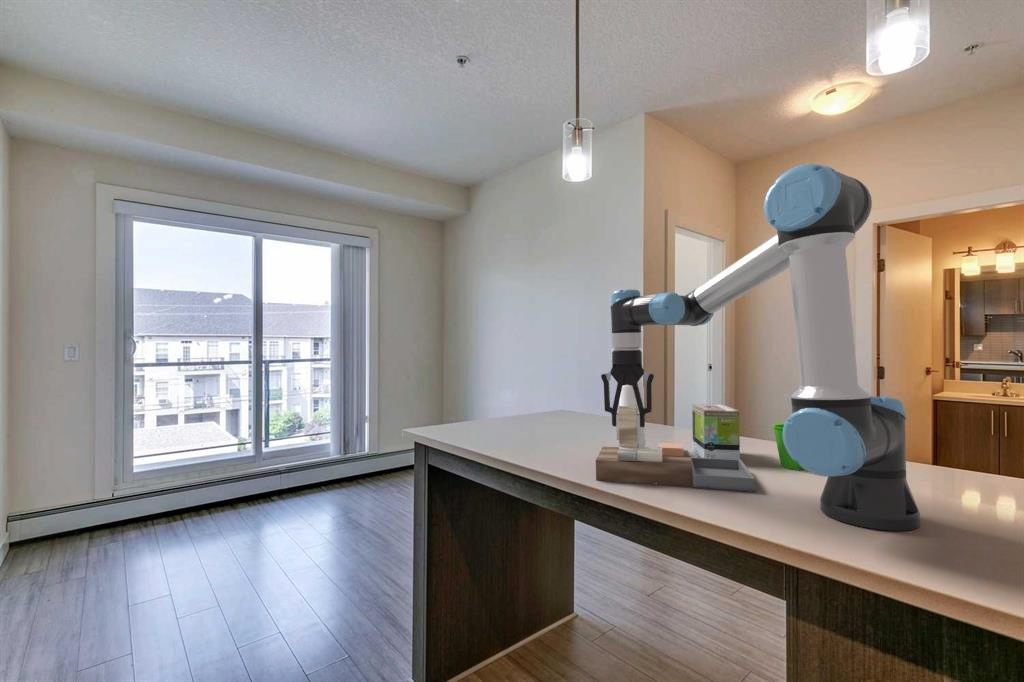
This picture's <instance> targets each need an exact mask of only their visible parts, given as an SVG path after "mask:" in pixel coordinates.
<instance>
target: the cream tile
mask: <svg viewBox="0 0 1024 682" xmlns="http://www.w3.org/2000/svg"><path fill="white" fill-rule="evenodd" d="M637 461H652V462H662V448H659V447H658V448H656V447H645V448H640V447H637Z"/></svg>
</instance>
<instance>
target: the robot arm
mask: <svg viewBox="0 0 1024 682" xmlns="http://www.w3.org/2000/svg"><path fill="white" fill-rule="evenodd" d="M872 203H873V201H872V196H871V193H870V191H869V189H868V186H866V185H865V184H864V183H863V182H862V181H860V180H858V179H856V178H854V177H852V176H849V175H846V174H844V173H842V172H839V171H837V170H836V169H834V168H832V167H831V166H828V165H821V164H815V163H806V164H800V165H798V166H794V167H792V168H789V169H788V170H786V171H785V172H783V173H782V174H781V175H780V176H778V177H777V178H776V179H775V181H774V183H773V184H772V185H771V186H770V187H769V189H768V190H767V192H766V195H765V198H764V202H763V213H764V216H765V218H766V220H767V222H768V223H769V225H771V227H773V228H774V230H775V229H776V234H774V235H772V237H770V238H768V239H767V240H766V241H764V242H763V243H761V244H760V245H758V246H757V247H755V248H754V249H752V250H751V251H749V252H748V253H746V254H745V255H744V256H743V257H741V258H739V259H738V260H736V261H735V262H733V263H731V264H730V265H729V266H727V267H726V268H724V269H723V270H721V271H720V272H718V273H717V274H715V275H714V276H713V277H711V278H710V279H709V280H706V281H705V282H704V283H702V284H701V285H700V286H697V288H695V289H694V290H692V291H690V292H689V293H687V294H685V295H679V294H678V293H677V292H664V291H663V292H659V293H655V294H654V293H653V294H649V295H648V294H646V295H641V292H640V290H638V289H635V288H633V289H630V288H628V289H626V288H625V289H618V290H614V291H613V292H612V293H611V298H610V299H611V300H610V307H609V308H610V315H611V316H610V317H611V318H610V319H611V320H610V321H611V348H612V349H613V350H612V352H611V358H612V359H611V363H612V364H611V369H610V371H608V372H607V373H602V374H601V375H600V378H601V380H602V384H603V400H604V401H603V402H604V411H605V412H608V413H610V414H611V425H612V427H616V440H617V441H619V412H618V410H619V400H620V395H621V390H622V386H624V385H630V386H633V390H634V394H635V397H636V401H637V405H638V409H639V414H637V441H640V439H641V436H640V427H644V426H645V425H646V421H645V420H646V419H645V418H646V417H645V416H646V414H648V413H652V409H653V408H652V405H653V403H652V399H653V397H652V394H653V393H652V391H653V390H652V384H653V380H654V376H655V375H654V373H649V372H646V371H645V369H644V368H643V357H642V355H643V354H642V353H643V352H642V350H641V348H642V327H645V326H689V327H690V326H691V327H697V326H703V325H705V324H707V323H709V322H710V321H711V320H712V318H713V317H714V314H715V313H716V312H718V311H719V310H722V309H723V308H725V307H727V306H728V305H729V304H731V303H733V302H734V301H736V300H738V299H739V298H741V297H743V296H745V295H747V294H748V293H750V292H751V291H753V290H754V289H756V288H758V287H760V286H761V285H763V284H764V283H766V282H768V281H770V280H771V279H773V278H774V277H776V276H777V275H779V274H781V273H782V272H783V273H784V272H785V271H786V270H787V269H789V273H790V284H791V285H790V286H791V295H792V308H793V310H792V311H793V321H794V332H795V344H796V357H797V369H798V380H799V386H798V388H797V389H796V391H795V392H793V393H792V394H791V395H790V399H791V400H790V402H791V412H792V414H790V416H789V417H788V418H787V420H785V422H784V427H783V442H784V445H785V448H786V450H787V452H788V453H789V455H790V456H791V457H792V459H793V460H795V461H796V462H797V463H798V464H799V465H800V466H801V467H803V469H804V470H806V471H808V472H809V473H812V474H815V475H818V476H823V477H827V479H826V482H825V484H824V487H823V490H822V493H821V496H820V511H821V512H822V513H823V514H825V516H828V517H830V518H832V519H834V520H836V521H840V522H843V523H846V524H849V525H853V526H858V527H862V528H867V529H872V530H873V529H874V530H881V531H893V532H896V531H897V532H898V531H900V532H902V531H904V532H905V531H912V530H915V529H918V528H919V527H920V526H921V513H920V510H919V508H918V505H917V503H916V500H915V497H914V495H913V492H912V491H911V488H910V485H909V483H908V480H907V460H906V459H907V456H906V455H907V452H906V451H907V449H906V443H907V442H906V420H907V415H906V413H905V405H904V403H903V401H901V400H900V399H898V398H894V397H886V396H874V395H870V394H869V392H868V391H866V390H864V389H863V388H862V387H861V386H860V384H859V380H858V369H857V357H856V348H855V347H856V346H855V345H856V344H855V336H854V326H853V315H852V304H851V295H850V281H849V272H848V271H849V270H848V260H847V249H846V248H847V247H848V246H849V245H850V244H851V243H852V242H853V241H854V239H856V232H858V231H859V230H860V229H861V228H862V227H863V226H864V224H865V223H867V220H868V219H869V217H870V215H871V210H872V205H873V204H872ZM611 377H612V378H613V379H614V380H615V381H616V383H617V384H616V389H615V395H614V398H613V402H612V403H613V405H612V406H611V397H610V392H611V391H610V381H611ZM642 377H644V380H645V382H646V407H645V406H644V407H643V403H642V400H641V396H640V392H639V388H638V384H637V382H638V381H639V380H640V381H641V378H642ZM645 427H646V426H645Z"/></svg>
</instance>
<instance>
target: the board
mask: <svg viewBox="0 0 1024 682" xmlns="http://www.w3.org/2000/svg"><path fill="white" fill-rule="evenodd" d="M618 450H619V446H602V448H601V449H600V451H599V453H598V454H597V457H596V459H595V478H596V479H595V481H602V482H603V481H605V482H606V481H607V482H618V483H632V482H637V483H636V484H647V483H657V484H656V485H662V484H668V485H667V486H677V485H682V486H681V487H692V486H693V474H692V462H691V459H690V457H691V456H690V453H689V450H687V449H685V450H684V449H683V454H684V457H683V456H663V455H662V462H652V461H637V460H636V461H625V460H618ZM684 485H685V486H684Z"/></svg>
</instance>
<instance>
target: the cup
mask: <svg viewBox="0 0 1024 682" xmlns="http://www.w3.org/2000/svg"><path fill="white" fill-rule="evenodd" d="M784 424H785V422H784V423H774V424H772V425H771V426H772V428H773V431H774V435H775V442H776V447H777V452H778V456H779V462H780V465H781V468H783V467H784V468H783V469H786V470H791V469H792V470H794V471H801V470H803V469H804V468H803V467H801V466H800V465H799V464H798V463H797V462H796V461H795V460H793V459H792V457H791V456H790V455H789V453H788V452H787V450H786V448H785V445H784V442H783V427H784Z"/></svg>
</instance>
